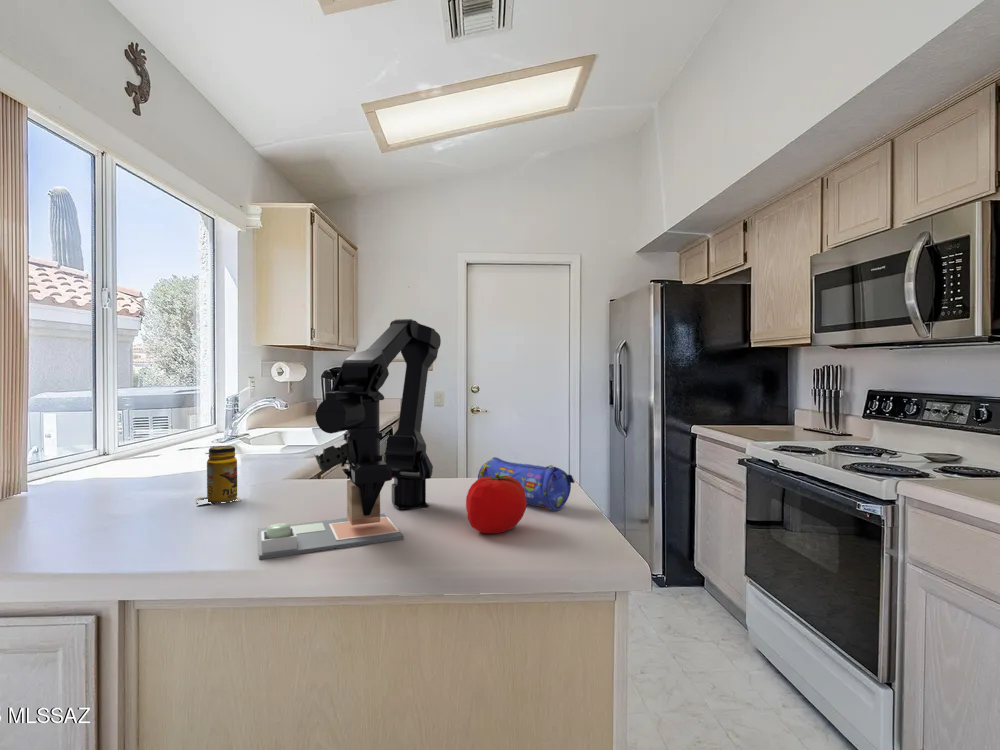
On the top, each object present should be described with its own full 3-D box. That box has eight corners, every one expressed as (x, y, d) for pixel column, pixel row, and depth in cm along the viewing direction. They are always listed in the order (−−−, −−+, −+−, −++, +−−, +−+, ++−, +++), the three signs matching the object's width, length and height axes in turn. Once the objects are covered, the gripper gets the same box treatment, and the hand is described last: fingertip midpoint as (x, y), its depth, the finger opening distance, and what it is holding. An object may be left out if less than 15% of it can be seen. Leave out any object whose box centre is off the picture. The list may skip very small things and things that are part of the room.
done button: (289, 533, 89) (289, 522, 89) (291, 540, 86) (291, 528, 86) (266, 536, 88) (266, 524, 88) (267, 543, 85) (267, 531, 85)
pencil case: (575, 508, 113) (575, 463, 113) (551, 516, 107) (552, 469, 106) (499, 491, 128) (499, 452, 128) (474, 498, 121) (474, 456, 121)
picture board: (383, 516, 106) (383, 503, 106) (403, 538, 92) (403, 524, 92) (258, 531, 96) (258, 517, 96) (259, 559, 83) (258, 542, 83)
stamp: (374, 514, 100) (374, 477, 99) (380, 521, 95) (380, 483, 95) (347, 517, 98) (347, 480, 97) (351, 525, 93) (351, 486, 93)
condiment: (241, 501, 117) (240, 447, 117) (197, 507, 113) (196, 451, 112) (236, 494, 123) (236, 443, 123) (195, 499, 119) (194, 446, 119)
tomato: (450, 531, 96) (450, 476, 96) (494, 516, 106) (495, 466, 106) (496, 545, 89) (497, 485, 89) (540, 527, 99) (540, 473, 99)
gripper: (311, 423, 101) (312, 504, 101) (323, 435, 84) (324, 532, 84) (370, 420, 106) (370, 497, 106) (392, 431, 89) (392, 523, 89)
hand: (363, 511), depth 96 cm, fingers closed on stamp, 5 cm apart
